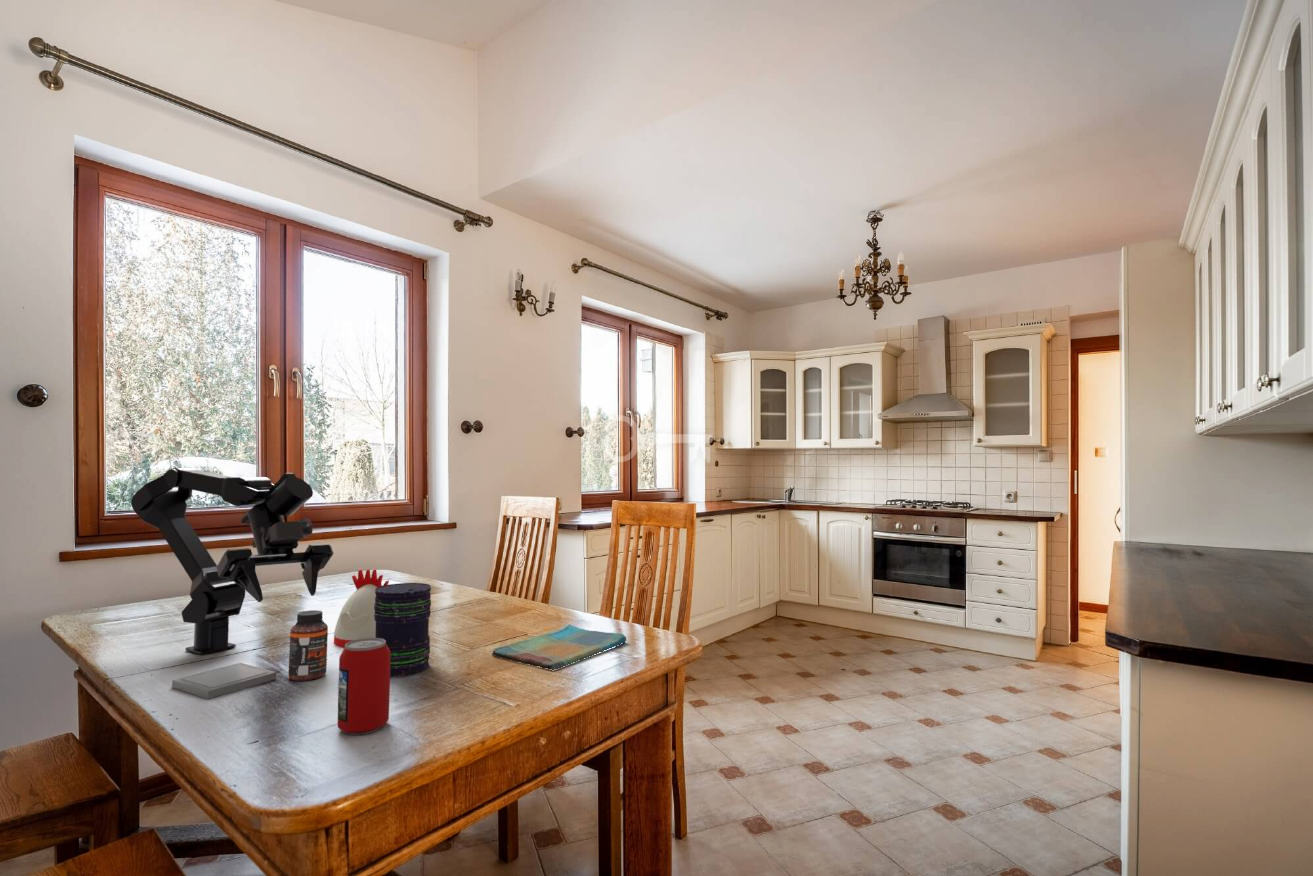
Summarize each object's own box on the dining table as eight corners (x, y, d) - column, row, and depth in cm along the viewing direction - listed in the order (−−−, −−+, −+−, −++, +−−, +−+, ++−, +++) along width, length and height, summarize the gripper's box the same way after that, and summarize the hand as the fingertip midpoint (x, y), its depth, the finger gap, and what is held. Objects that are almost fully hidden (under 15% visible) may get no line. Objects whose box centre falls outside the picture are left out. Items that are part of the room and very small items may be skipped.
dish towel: (629, 646, 137) (629, 633, 137) (554, 675, 118) (554, 660, 118) (568, 634, 147) (568, 622, 147) (489, 659, 127) (489, 646, 127)
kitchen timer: (359, 630, 147) (360, 564, 148) (415, 632, 145) (417, 565, 146) (319, 646, 133) (321, 573, 134) (381, 649, 131) (382, 575, 132)
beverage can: (348, 719, 95) (350, 637, 96) (395, 717, 96) (397, 636, 96) (328, 738, 88) (331, 649, 89) (379, 736, 89) (381, 648, 90)
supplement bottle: (309, 683, 111) (312, 616, 111) (280, 680, 112) (282, 615, 112) (333, 672, 116) (335, 609, 117) (305, 670, 118) (307, 607, 118)
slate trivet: (171, 687, 108) (172, 679, 108) (240, 669, 118) (240, 662, 118) (208, 698, 103) (208, 690, 103) (276, 679, 113) (276, 671, 113)
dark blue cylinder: (363, 669, 118) (365, 587, 119) (414, 658, 126) (415, 580, 126) (387, 681, 112) (389, 595, 112) (439, 669, 119) (441, 587, 119)
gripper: (229, 505, 116) (246, 577, 109) (333, 504, 131) (355, 567, 124) (209, 542, 121) (225, 614, 114) (312, 537, 135) (332, 600, 128)
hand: (288, 597), depth 120 cm, fingers open, 9 cm apart
